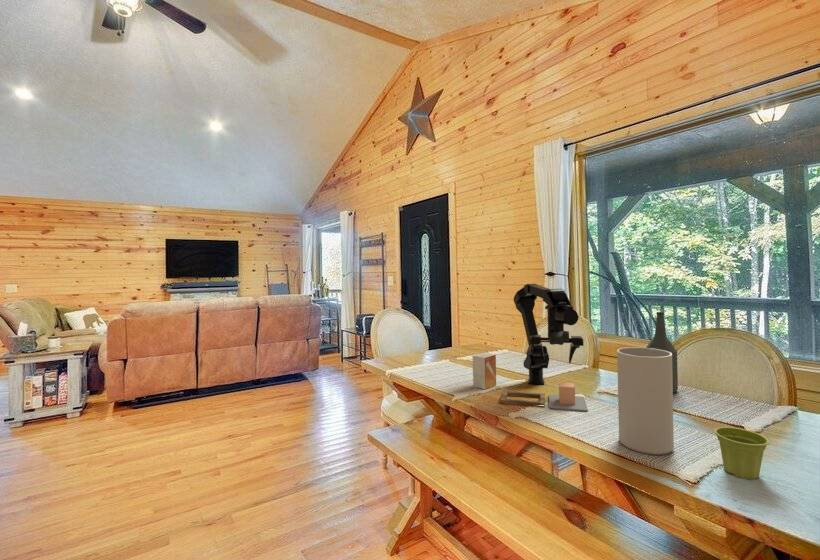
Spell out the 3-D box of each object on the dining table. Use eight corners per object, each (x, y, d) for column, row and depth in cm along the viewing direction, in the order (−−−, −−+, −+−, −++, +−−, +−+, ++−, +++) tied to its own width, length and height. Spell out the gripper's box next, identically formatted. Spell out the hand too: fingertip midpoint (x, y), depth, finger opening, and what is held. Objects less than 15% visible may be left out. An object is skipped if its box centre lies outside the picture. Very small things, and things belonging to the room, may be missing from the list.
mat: (549, 395, 145) (549, 394, 145) (583, 398, 141) (583, 396, 141) (549, 408, 132) (549, 407, 132) (587, 411, 128) (587, 410, 128)
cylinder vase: (628, 431, 112) (627, 345, 112) (679, 444, 103) (678, 351, 102) (611, 445, 104) (609, 352, 103) (665, 461, 94) (663, 359, 94)
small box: (485, 389, 155) (484, 357, 155) (472, 386, 160) (471, 355, 159) (497, 385, 161) (496, 354, 160) (484, 382, 165) (483, 352, 165)
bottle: (677, 387, 150) (676, 310, 149) (678, 395, 142) (676, 313, 141) (646, 384, 156) (644, 310, 155) (645, 391, 147) (643, 312, 147)
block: (559, 398, 140) (558, 382, 140) (574, 400, 138) (573, 383, 138) (559, 403, 135) (559, 386, 135) (575, 404, 133) (574, 387, 133)
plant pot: (758, 466, 91) (758, 430, 90) (777, 487, 82) (777, 447, 82) (709, 460, 94) (709, 424, 94) (723, 479, 86) (722, 440, 86)
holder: (503, 393, 149) (503, 390, 149) (544, 396, 144) (544, 393, 144) (500, 403, 139) (500, 400, 139) (544, 406, 134) (544, 403, 134)
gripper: (529, 324, 142) (530, 366, 142) (584, 325, 136) (585, 369, 136) (530, 320, 152) (531, 359, 153) (581, 321, 146) (582, 362, 147)
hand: (556, 362), depth 147 cm, fingers open, 9 cm apart
